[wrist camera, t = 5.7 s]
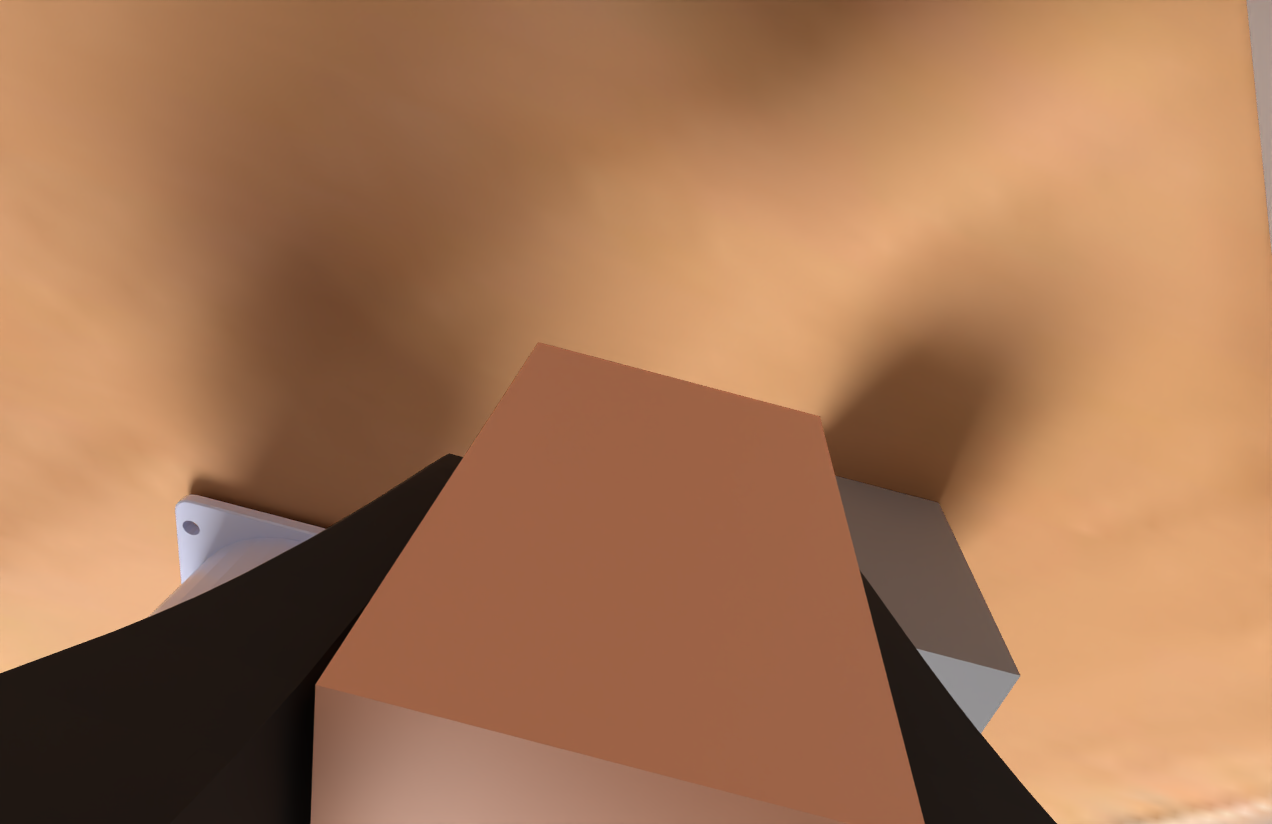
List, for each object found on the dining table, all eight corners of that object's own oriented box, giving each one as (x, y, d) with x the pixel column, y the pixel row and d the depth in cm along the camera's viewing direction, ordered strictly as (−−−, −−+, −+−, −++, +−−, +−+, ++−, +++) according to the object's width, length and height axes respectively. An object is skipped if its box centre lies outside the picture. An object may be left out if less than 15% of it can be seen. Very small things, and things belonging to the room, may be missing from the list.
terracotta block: (734, 626, 12) (741, 1107, 6) (497, 564, 12) (304, 994, 6) (820, 416, 10) (929, 845, 5) (537, 341, 10) (315, 686, 4)
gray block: (880, 612, 21) (933, 802, 16) (748, 577, 21) (756, 756, 16) (938, 502, 19) (1020, 675, 14) (793, 464, 19) (819, 623, 14)
